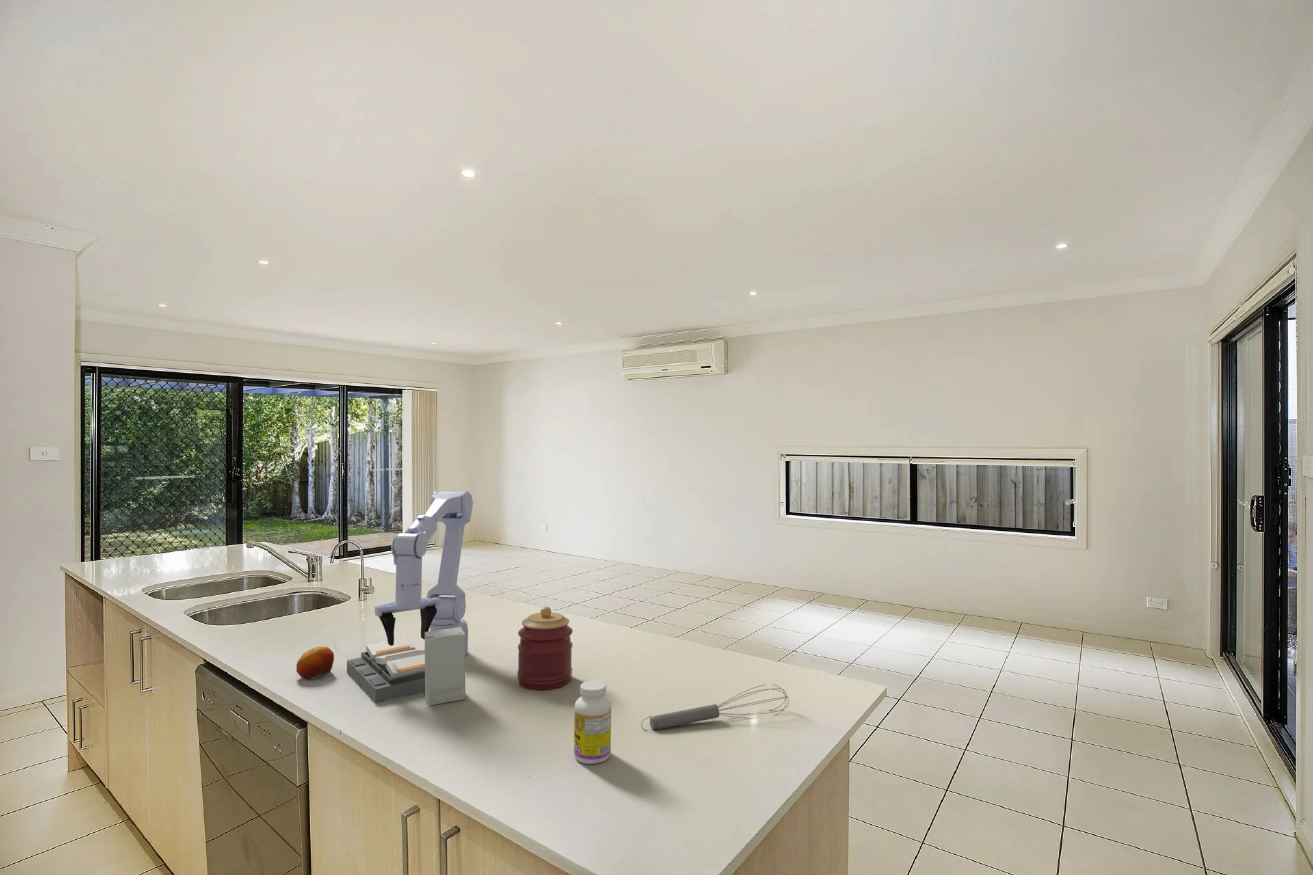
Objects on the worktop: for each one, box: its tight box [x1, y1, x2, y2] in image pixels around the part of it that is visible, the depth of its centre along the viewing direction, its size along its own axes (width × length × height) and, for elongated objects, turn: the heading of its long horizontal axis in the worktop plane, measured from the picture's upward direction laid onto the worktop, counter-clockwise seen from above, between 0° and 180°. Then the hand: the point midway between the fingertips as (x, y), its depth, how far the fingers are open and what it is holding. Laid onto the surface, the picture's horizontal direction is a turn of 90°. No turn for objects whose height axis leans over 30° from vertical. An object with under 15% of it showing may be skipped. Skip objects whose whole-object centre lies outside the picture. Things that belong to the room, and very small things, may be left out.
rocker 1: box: [365, 636, 415, 660], centre depth 155 cm, size 10×6×2 cm, turn 130°
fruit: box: [295, 646, 335, 680], centre depth 149 cm, size 8×8×8 cm
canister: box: [516, 606, 573, 691], centre depth 148 cm, size 13×13×18 cm
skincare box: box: [424, 627, 466, 707], centre depth 137 cm, size 8×6×15 cm
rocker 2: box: [386, 654, 425, 679], centre depth 143 cm, size 10×6×2 cm, turn 130°
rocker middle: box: [375, 648, 425, 665], centre depth 149 cm, size 10×6×2 cm, turn 130°
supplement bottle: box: [573, 680, 612, 765], centre depth 112 cm, size 7×7×13 cm
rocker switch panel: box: [346, 647, 425, 704], centre depth 149 cm, size 15×28×4 cm, turn 40°
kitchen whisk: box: [640, 684, 790, 732], centre depth 127 cm, size 6×33×6 cm, turn 108°
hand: (407, 641), depth 146 cm, fingers open, 7 cm apart
